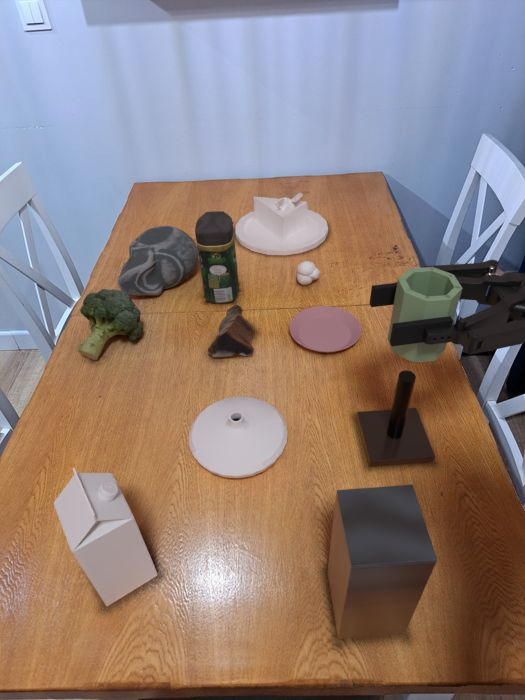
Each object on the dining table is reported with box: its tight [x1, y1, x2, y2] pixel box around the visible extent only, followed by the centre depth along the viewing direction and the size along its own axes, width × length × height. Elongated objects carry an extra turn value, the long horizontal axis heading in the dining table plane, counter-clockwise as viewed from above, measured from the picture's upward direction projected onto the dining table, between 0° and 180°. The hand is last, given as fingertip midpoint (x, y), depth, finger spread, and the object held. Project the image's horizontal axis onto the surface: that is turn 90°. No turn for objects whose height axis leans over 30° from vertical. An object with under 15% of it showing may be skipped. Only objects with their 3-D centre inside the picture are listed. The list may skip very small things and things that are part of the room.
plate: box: [289, 305, 362, 353], centre depth 99 cm, size 14×14×2 cm
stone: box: [207, 304, 256, 359], centre depth 98 cm, size 9×6×15 cm
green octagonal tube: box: [387, 267, 462, 363], centre depth 57 cm, size 6×6×9 cm
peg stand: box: [356, 369, 436, 468], centre depth 75 cm, size 10×10×14 cm
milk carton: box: [53, 467, 159, 607], centre depth 59 cm, size 7×7×19 cm
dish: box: [234, 192, 329, 256], centre depth 128 cm, size 25×25×11 cm
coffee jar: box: [194, 210, 240, 305], centre depth 105 cm, size 10×8×19 cm
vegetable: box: [77, 288, 144, 361], centre depth 97 cm, size 12×13×15 cm
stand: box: [326, 484, 438, 640], centre depth 54 cm, size 8×8×20 cm
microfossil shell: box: [296, 260, 321, 286], centre depth 112 cm, size 4×5×6 cm
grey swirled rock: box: [117, 225, 199, 296], centre depth 112 cm, size 11×16×20 cm
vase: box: [188, 395, 289, 479], centre depth 77 cm, size 16×16×7 cm
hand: (381, 314), depth 56 cm, fingers closed on green octagonal tube, 7 cm apart
